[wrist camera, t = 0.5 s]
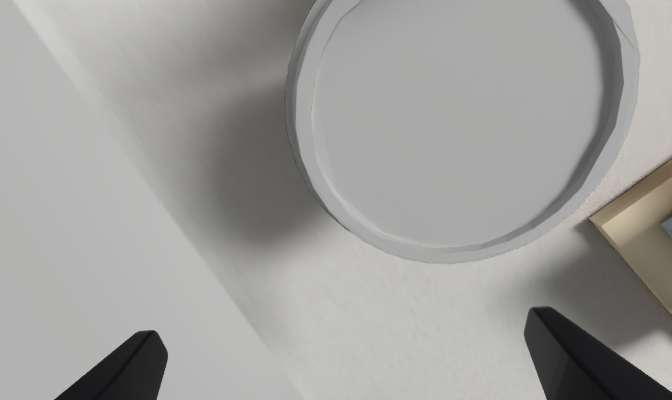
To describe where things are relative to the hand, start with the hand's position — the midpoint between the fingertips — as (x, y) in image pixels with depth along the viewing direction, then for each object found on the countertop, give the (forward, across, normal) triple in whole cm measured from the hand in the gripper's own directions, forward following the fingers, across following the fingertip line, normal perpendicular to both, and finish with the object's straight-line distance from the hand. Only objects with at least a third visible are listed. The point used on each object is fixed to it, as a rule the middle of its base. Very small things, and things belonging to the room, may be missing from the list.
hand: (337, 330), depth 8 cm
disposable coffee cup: (+15, -4, -2) cm, 16 cm away
